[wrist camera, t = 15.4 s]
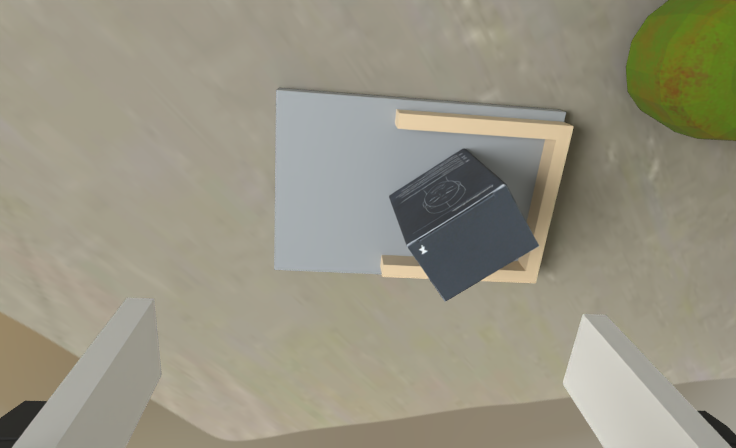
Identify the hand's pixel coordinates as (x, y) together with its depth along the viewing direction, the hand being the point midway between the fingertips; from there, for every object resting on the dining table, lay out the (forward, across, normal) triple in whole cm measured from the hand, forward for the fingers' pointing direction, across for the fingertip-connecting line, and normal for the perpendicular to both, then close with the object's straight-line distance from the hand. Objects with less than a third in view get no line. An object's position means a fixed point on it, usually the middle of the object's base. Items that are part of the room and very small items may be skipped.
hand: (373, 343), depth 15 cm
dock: (+29, +6, -4) cm, 30 cm away
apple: (+29, +27, +9) cm, 41 cm away
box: (+27, +8, -4) cm, 29 cm away
